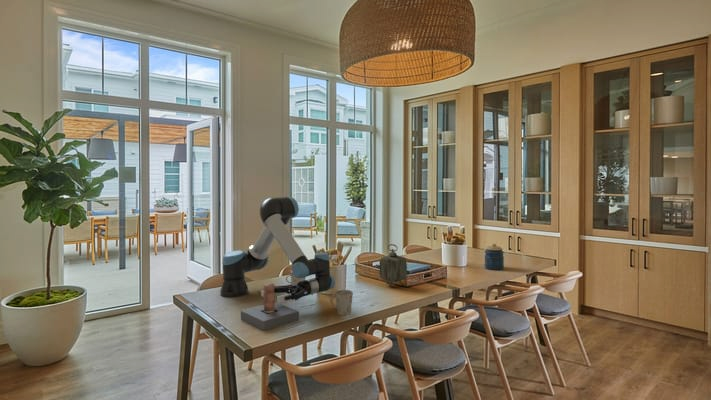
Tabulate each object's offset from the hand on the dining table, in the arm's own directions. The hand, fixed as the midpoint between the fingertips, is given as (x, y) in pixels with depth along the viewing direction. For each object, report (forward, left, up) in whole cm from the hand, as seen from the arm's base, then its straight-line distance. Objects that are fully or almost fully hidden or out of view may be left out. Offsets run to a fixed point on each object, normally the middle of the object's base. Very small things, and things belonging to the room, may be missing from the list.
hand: (269, 296), depth 178 cm
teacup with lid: (-39, +42, -11) cm, 59 cm away
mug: (+16, +29, -11) cm, 35 cm away
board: (0, 0, -11) cm, 11 cm away
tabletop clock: (+3, +82, -11) cm, 83 cm away
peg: (0, 0, -11) cm, 11 cm away
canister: (+24, +167, -11) cm, 169 cm away
